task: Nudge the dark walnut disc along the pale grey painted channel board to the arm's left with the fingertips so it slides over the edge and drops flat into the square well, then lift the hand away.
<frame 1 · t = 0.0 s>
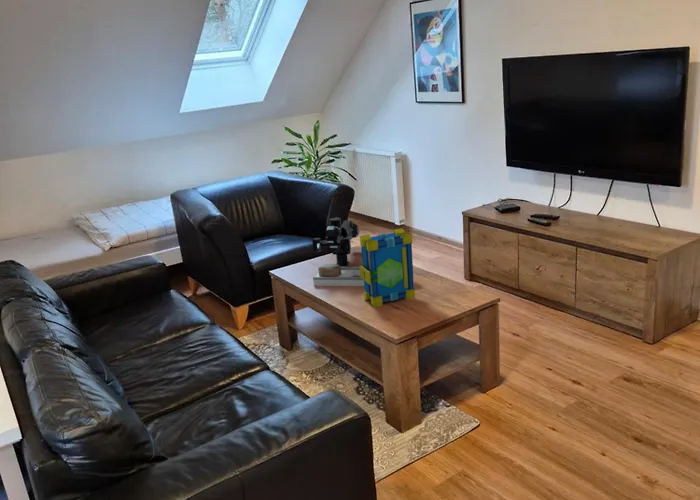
hand: (327, 249, 303), 17 cm above the table, tool horizontal, fingers open, 9 cm apart
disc: (330, 274, 310), point 3 cm above the table, touching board
decorative book: (390, 299, 283), on the table
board: (348, 280, 309), on the table
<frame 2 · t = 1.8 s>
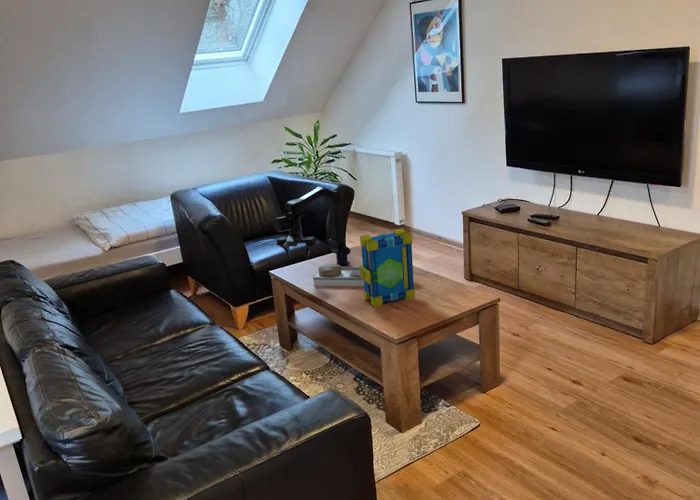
hand: (298, 257, 311), 12 cm above the table, tool pointing down, fingers open, 9 cm apart
nothing on the table moved.
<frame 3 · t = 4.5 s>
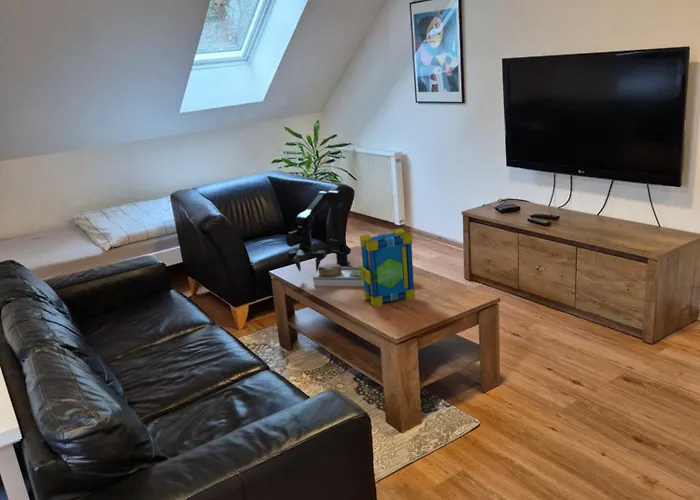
hand: (308, 271, 312), 5 cm above the table, tool pointing down, fingers open, 8 cm apart
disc: (330, 274, 310), point 3 cm above the table, touching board, gripper
everything else where it was.
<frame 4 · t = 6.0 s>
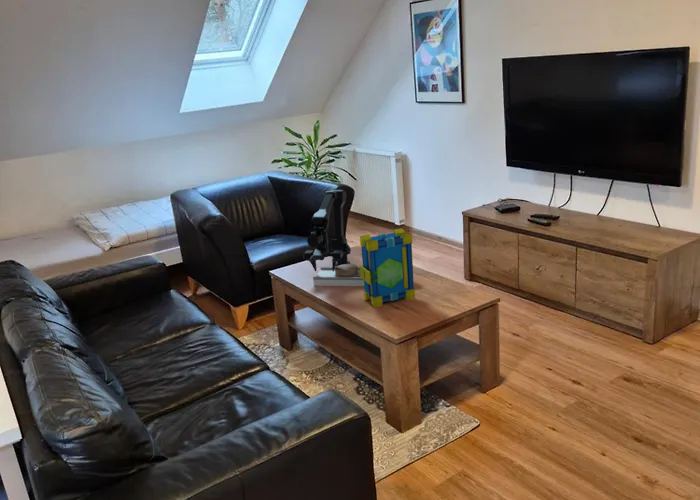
hand: (324, 271, 310), 5 cm above the table, tool pointing down, fingers open, 9 cm apart
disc: (346, 274, 308), point 3 cm above the table, touching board, gripper
everything else where it was.
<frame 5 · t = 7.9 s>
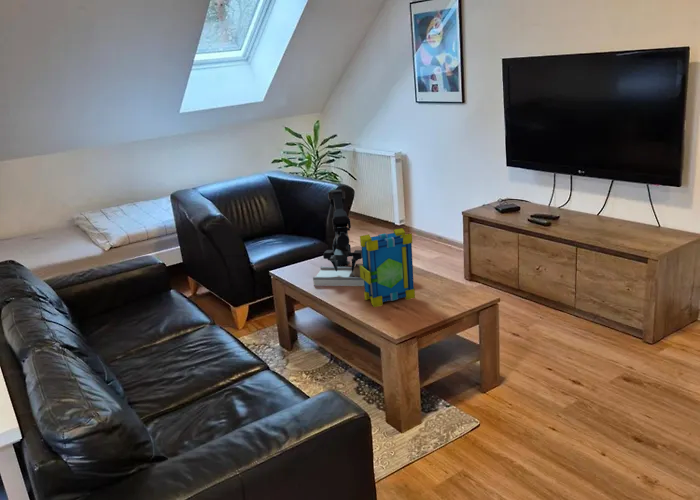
hand: (344, 271, 308), 5 cm above the table, tool pointing down, fingers open, 8 cm apart
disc: (363, 275, 306), point 2 cm above the table, tilted 27°, touching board, gripper
everything else where it was.
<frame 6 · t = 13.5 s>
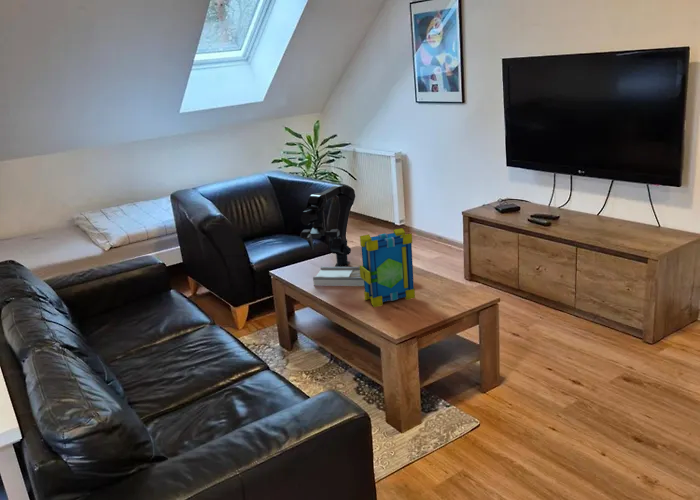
hand: (321, 250, 315), 13 cm above the table, tool pointing down, fingers open, 9 cm apart
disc: (362, 280, 307), resting in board
everything else where it was.
at the end: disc inside the target area on the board (0.6 cm from its centre), point 0.0 cm above the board's base; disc tilted 2° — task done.
